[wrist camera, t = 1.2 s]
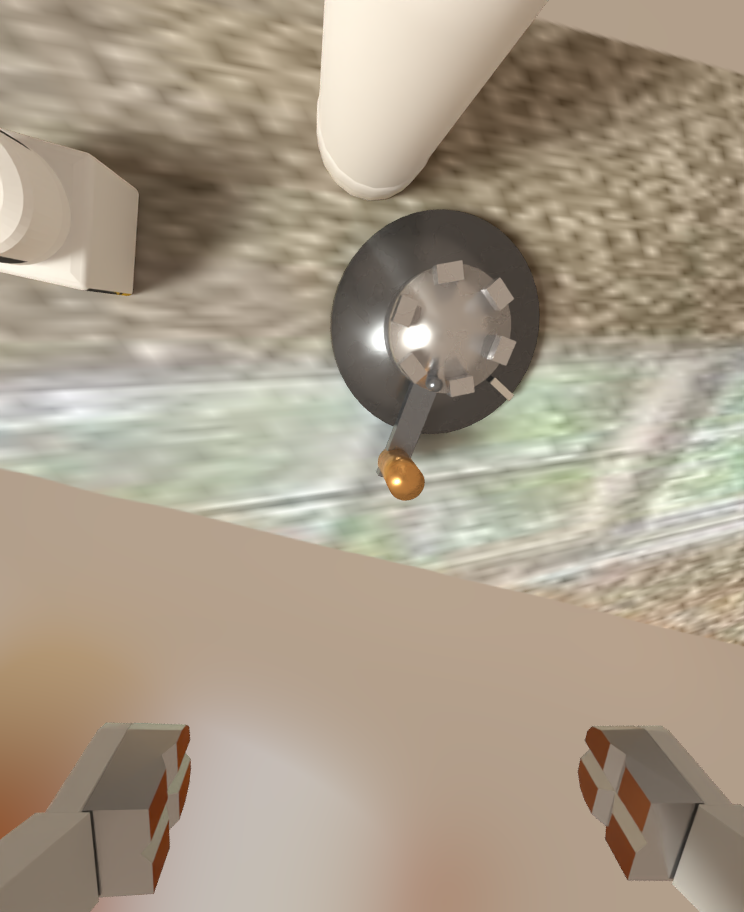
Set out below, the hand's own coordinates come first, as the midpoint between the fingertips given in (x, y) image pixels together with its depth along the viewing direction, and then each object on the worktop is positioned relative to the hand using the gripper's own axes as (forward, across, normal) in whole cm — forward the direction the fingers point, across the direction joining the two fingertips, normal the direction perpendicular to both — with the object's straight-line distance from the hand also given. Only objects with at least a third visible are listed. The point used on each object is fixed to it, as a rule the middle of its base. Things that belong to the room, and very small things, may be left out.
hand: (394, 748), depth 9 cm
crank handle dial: (+28, -5, -6) cm, 29 cm away
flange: (+29, -6, -10) cm, 32 cm away
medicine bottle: (+27, +20, -14) cm, 37 cm away
